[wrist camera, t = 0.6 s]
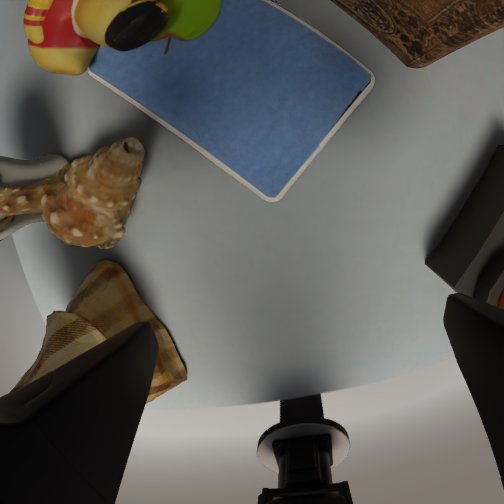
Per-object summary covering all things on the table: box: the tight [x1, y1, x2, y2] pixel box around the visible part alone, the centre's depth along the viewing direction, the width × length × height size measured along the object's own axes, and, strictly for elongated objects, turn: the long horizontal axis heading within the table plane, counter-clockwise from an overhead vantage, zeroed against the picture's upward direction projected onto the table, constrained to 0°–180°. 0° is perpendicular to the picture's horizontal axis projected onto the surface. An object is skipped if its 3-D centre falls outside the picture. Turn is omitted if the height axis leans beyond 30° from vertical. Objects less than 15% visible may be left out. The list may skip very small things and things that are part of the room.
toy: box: [24, 0, 169, 75], centre depth 15 cm, size 9×11×10 cm
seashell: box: [41, 137, 145, 249], centre depth 21 cm, size 9×8×10 cm
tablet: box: [87, 0, 375, 203], centre depth 20 cm, size 19×13×1 cm, turn 52°
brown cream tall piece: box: [10, 259, 187, 403], centre depth 17 cm, size 14×14×25 cm
